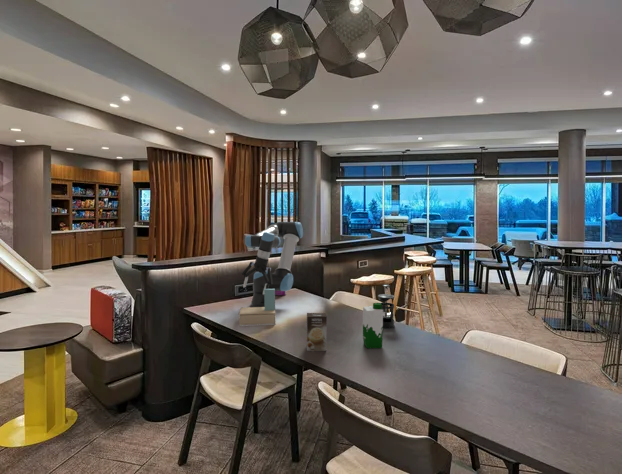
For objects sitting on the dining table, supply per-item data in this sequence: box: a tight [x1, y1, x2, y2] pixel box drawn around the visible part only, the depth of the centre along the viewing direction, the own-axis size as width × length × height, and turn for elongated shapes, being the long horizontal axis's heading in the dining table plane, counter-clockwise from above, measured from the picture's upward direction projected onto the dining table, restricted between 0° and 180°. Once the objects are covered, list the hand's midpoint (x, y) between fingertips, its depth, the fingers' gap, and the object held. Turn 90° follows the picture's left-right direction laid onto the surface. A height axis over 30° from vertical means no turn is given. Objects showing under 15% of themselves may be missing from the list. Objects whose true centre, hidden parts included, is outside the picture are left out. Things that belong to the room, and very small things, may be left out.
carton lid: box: [238, 289, 276, 316], centre depth 210 cm, size 20×14×12 cm
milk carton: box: [362, 302, 384, 349], centre depth 172 cm, size 9×9×20 cm
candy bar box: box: [275, 290, 287, 296], centre depth 280 cm, size 11×5×16 cm, turn 84°
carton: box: [238, 313, 276, 327], centre depth 211 cm, size 20×14×6 cm
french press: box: [377, 284, 395, 329], centre depth 202 cm, size 12×9×23 cm
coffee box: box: [305, 312, 328, 352], centre depth 168 cm, size 9×6×16 cm
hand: (254, 290), depth 223 cm, fingers open, 13 cm apart
